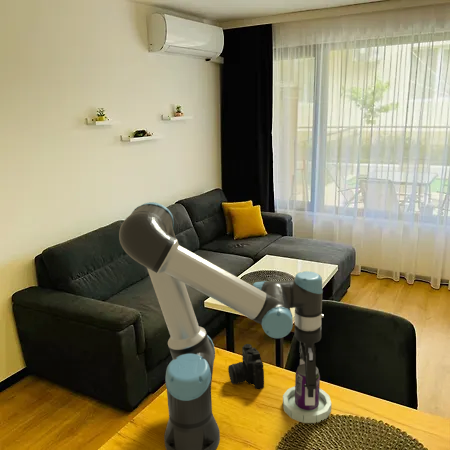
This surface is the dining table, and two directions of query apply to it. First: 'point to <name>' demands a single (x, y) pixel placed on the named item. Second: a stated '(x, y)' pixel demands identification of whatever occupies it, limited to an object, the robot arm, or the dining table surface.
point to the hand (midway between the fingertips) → (306, 390)
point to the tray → (306, 415)
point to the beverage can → (300, 389)
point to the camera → (248, 368)
